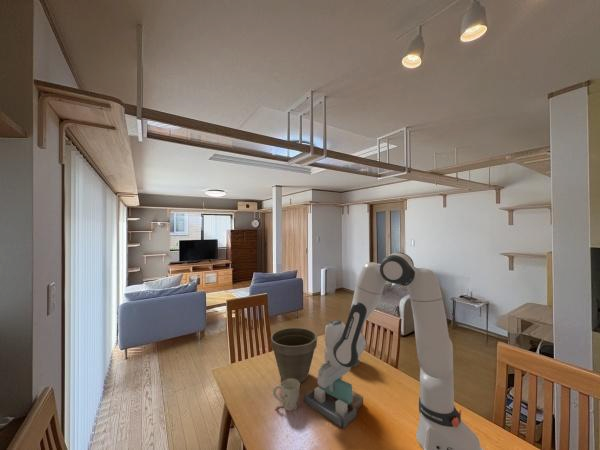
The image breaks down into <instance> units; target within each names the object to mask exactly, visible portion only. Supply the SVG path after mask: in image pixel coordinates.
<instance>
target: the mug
mask: <svg viewBox="0 0 600 450" xmlns="http://www.w3.org/2000/svg"><path fill="white" fill-rule="evenodd" d="M300 387H301V383H300V382H299V381H298V380H296V379H293V378H290V379H286V380H284V381H283V380H282V381H281V384H280V385H276V386H275V387H273V390H272V394H273V397H274V398H275V399H276V400H277V401H278V402H279V401H280V402H283V407H284V409H285V410H286V411H288V412H293V411H296V410H297V409H298V406H299V397H300ZM279 389H281V392H282V393H281V394H282V398H280V397H279V396H278V395H277V390H279Z"/></svg>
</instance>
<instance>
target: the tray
mask: <svg viewBox="0 0 600 450" xmlns="http://www.w3.org/2000/svg"><path fill="white" fill-rule="evenodd" d="M317 387H319V388H320V386H319V385H318V386H317ZM303 402H304V404H305V405H307V406H309V407H310V408H311V409H313V410H315V412H318V413H319V414H320V415H322V416H323V417H324V418H326V419H327V420H329V421H330V422H332V423H333V424H334V425H336V426H338V427H339V428H340V429H341V430H344V429H345V428H346V427H347V426H348V425H349V424H350V423H351V422H352V421H353V420H355V418H357V416H358V415H357V413H358V412H357V411H358V410H357V409H356V408H354V409H353V410H352V411H350V410H348V415H347V416H345V417H344V418H343V417H342V416H340V415H339V414H337V413H336V410H335V401H334V400H332V399H330V398H329V397H327V396H325V402H323V403H320V402H319V401H317V400H316V399H314V389H312V390H310V391H309V392H307V393H306V394H305V395H303Z"/></svg>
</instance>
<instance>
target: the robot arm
mask: <svg viewBox="0 0 600 450" xmlns="http://www.w3.org/2000/svg"><path fill="white" fill-rule="evenodd" d="M414 265H415V264H414V260H413V259H412V258H411V256H409V255H408V254H406V253H404V252H393V253H390V254H389V255H387V256H386V257H384V258H383V259H382V260H381V263H378V262H373V261H372V262H367V263H365V264H364V265H363V267H362V269H361V271H360V273H359V275H358V277H357V280H356V285H355V287H354V292H353V297H352V300H351V301H352V303H351V307H350V311H349V315H348V317H347V319H346V323H344V322H343V321H342V320H331V321H329V322H328V323H327V324H326V325H325V328H324V329H325V330H324V343H325V348H324V361H325V362H324V363H322V364H321V366H320V367H319V369H318V371H317V372H318V373H317V385H318V386H319V387H322V388H326V387H327V386H329V389H330V391H332V392H333V391H334V390H335V389H334V388H335V387H334V386H333V385H332V384H333V382H334V381H336V380H337V379H341V380H343V376H345V375H346V374H347V373H349V372H350V371H351V369H352V368H353V367H352V366H354V365H355V364H356V362H357V360H358V359H360V357H361V355H362V353H363V352H364V350H365V349H366V346H367V341H366V338H365V335H363V334H362V329H363V326H364V324H365V322H366V321H367V319H368V318H369V317H370V316H371V314H372V313H373V312H374V311H375V310H376V308H377V307H378V305H379V303H380V300H381V299H382V295H383V291H384V288H385V285H386V284H387V282H388V283H391V284H396V285H400V286H404V287H407V289H408V294H409V299H410V304H411V312H412V316H413V317H412V318H413V323H414V325H413V326H414V336H415V346H416V353H417V360H418V363H419V367H420V368H419V369H420V370H419V398H418V413H419V418H418V419H419V421H418V425H417V429H416V431H415V432H416V434H415V437H416V440H417V442H418V443H419V445H420V446H421V447H422V449H423V450H485V448H483V447H481V446H482V445H481V443H480V439H479V437H478V436H477V434H476V433H475V432H474V431H473V430H472V429H471V428H470V427H469V426H468V425H467V424H466V423H465V422H464V421H463V420H462V409H459V411H458V410H457V408H456V406H455V392H454V385H455V384H454V383H455V382H454V350H453V347H454V346H453V342H452V339H451V338H450V336H449V335H450V334H449V327H448V320H447V315H446V309H445V304H444V298H443V295H442V294H443V293H442V291H441V286H440V283H439V280H438V279H437V276H436V273H435V272H434V271H433V270H431V269H429V268H425V267H421V268H420V267H419V268H418V267H416V266H414Z"/></svg>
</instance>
